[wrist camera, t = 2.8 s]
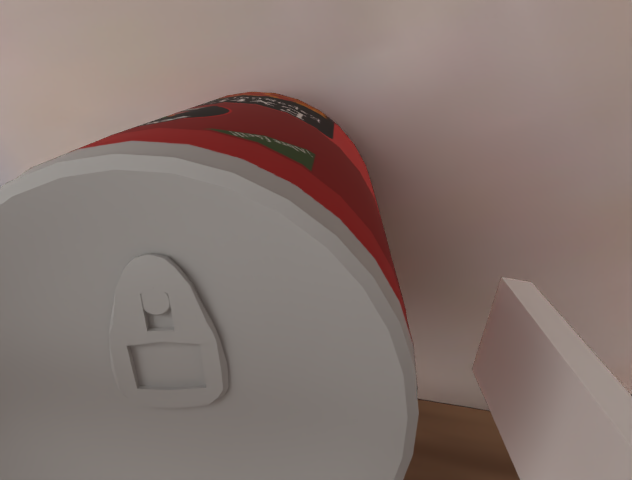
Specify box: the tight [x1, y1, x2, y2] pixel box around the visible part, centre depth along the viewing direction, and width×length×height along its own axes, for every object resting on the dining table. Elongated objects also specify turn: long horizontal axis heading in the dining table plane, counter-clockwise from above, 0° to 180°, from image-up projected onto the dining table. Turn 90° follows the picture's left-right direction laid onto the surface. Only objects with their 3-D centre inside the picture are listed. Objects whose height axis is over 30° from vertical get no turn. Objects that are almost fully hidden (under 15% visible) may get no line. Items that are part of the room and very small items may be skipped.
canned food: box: [0, 92, 419, 480], centre depth 12 cm, size 8×8×11 cm
